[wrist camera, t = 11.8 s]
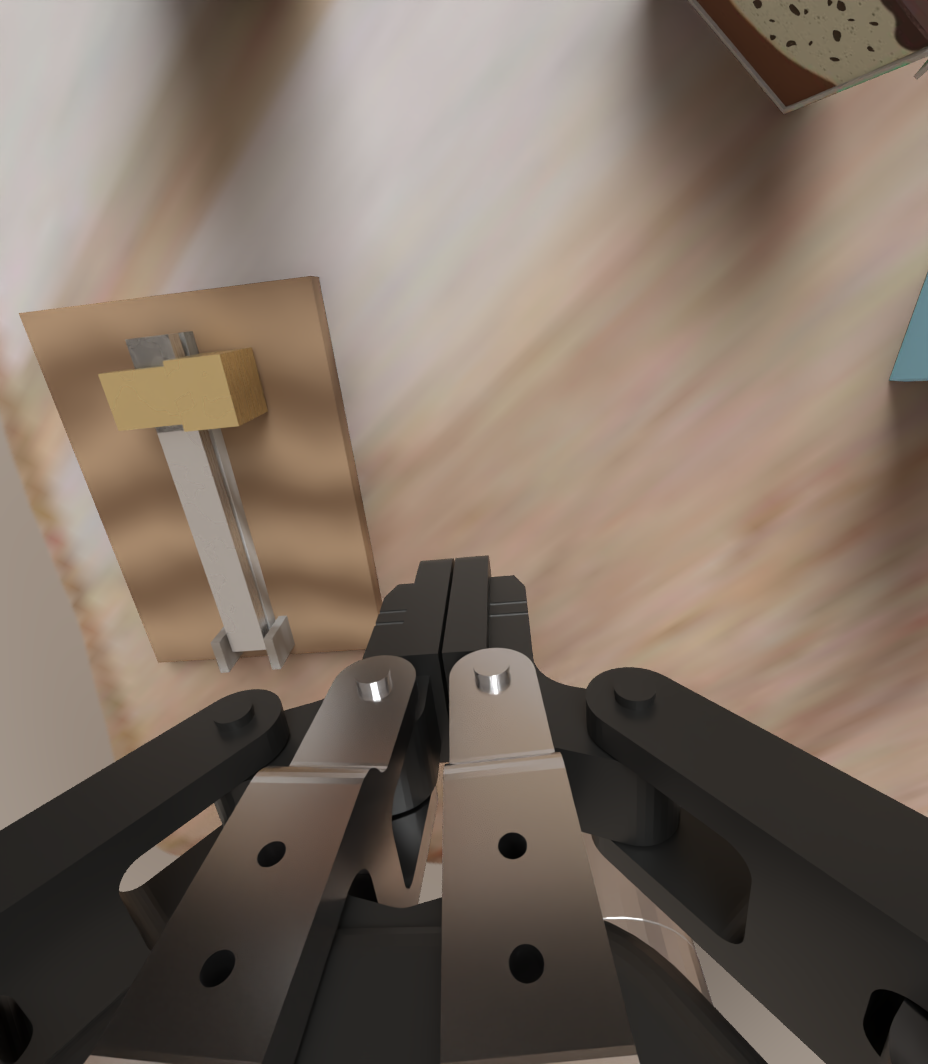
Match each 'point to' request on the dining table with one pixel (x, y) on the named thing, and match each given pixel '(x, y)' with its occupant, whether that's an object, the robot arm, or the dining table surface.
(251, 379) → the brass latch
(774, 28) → the food container
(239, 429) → the wooden board with rail
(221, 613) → the tongs upper arm
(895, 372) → the light blue flared block
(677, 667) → the dining table surface
